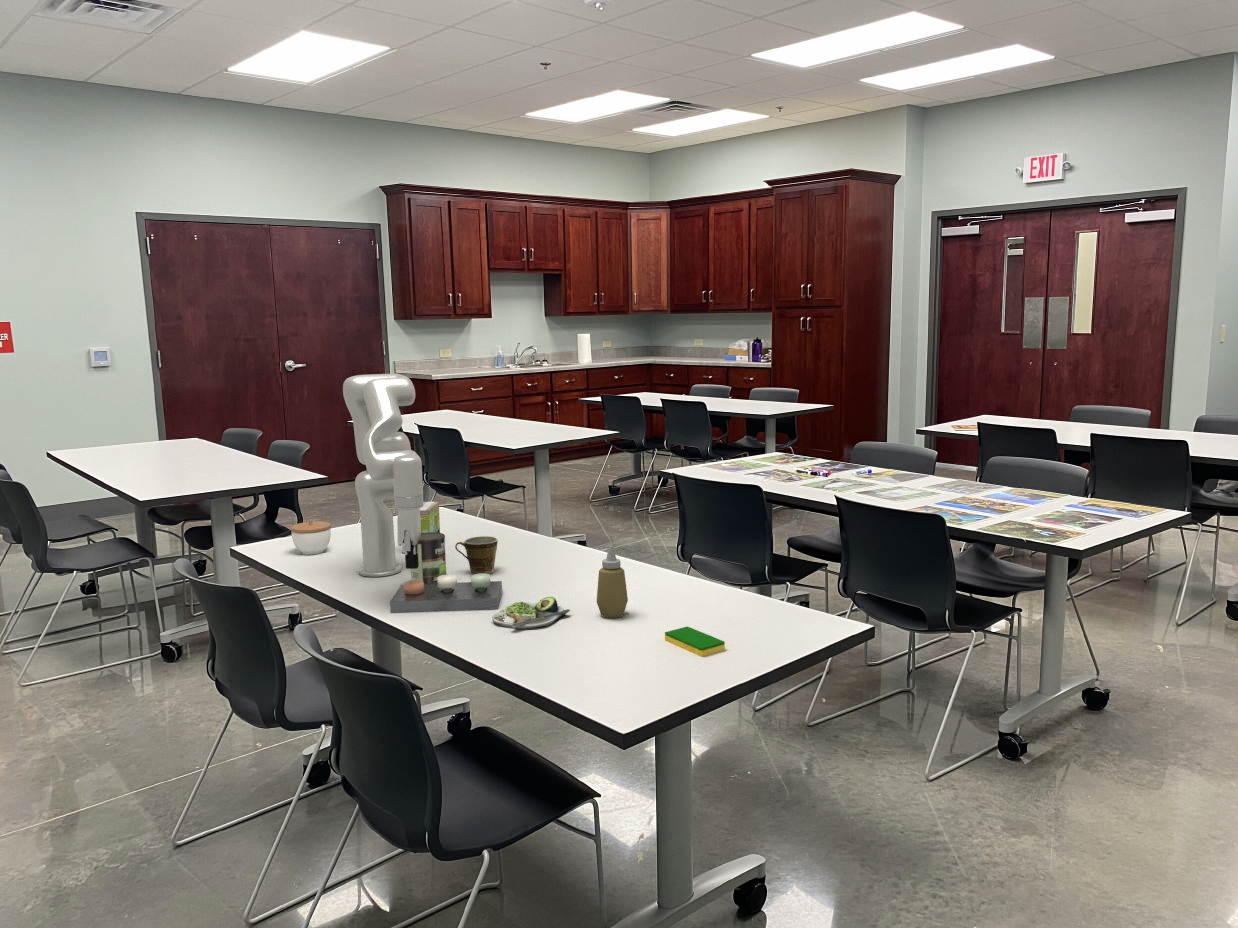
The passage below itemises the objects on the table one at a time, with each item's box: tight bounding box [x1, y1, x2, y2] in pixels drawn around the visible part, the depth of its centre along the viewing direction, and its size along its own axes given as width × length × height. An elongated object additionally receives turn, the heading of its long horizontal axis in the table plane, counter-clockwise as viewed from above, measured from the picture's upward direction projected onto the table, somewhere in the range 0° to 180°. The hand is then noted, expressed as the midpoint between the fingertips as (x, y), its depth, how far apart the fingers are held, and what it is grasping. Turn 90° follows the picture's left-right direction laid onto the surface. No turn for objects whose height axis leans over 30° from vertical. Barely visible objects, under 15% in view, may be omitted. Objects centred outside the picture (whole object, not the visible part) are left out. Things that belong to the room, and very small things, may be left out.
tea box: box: [401, 501, 441, 554], centre depth 311 cm, size 15×10×15 cm
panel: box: [389, 580, 503, 614], centre depth 252 cm, size 16×28×3 cm, turn 93°
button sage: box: [470, 573, 491, 592], centre depth 252 cm, size 5×5×5 cm
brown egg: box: [403, 580, 424, 594], centre depth 251 cm, size 5×5×5 cm
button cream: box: [437, 574, 458, 593], centre depth 251 cm, size 5×5×5 cm
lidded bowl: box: [290, 519, 332, 556], centre depth 309 cm, size 13×13×11 cm
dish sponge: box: [664, 626, 726, 657], centre depth 215 cm, size 7×14×2 cm, turn 34°
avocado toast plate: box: [491, 596, 571, 630], centre depth 235 cm, size 19×18×5 cm
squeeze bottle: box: [596, 545, 629, 619], centre depth 237 cm, size 8×8×18 cm
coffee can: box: [410, 532, 447, 584], centre depth 269 cm, size 10×10×14 cm
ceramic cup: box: [454, 535, 499, 575], centre depth 280 cm, size 13×10×10 cm
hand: (412, 567), depth 250 cm, fingers closed
